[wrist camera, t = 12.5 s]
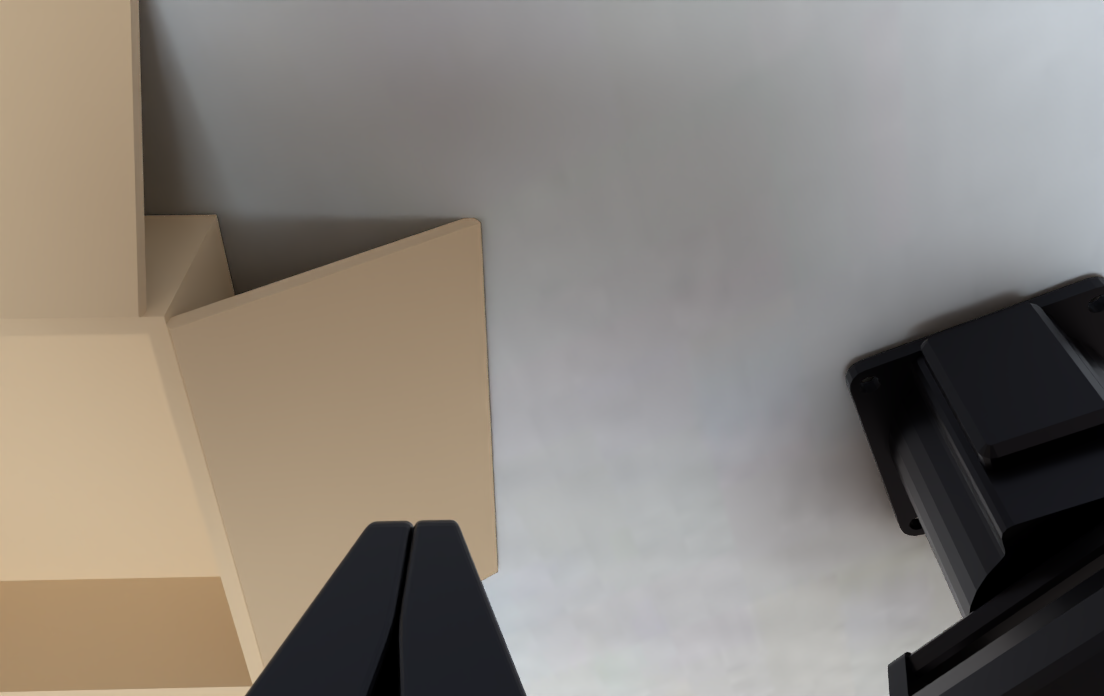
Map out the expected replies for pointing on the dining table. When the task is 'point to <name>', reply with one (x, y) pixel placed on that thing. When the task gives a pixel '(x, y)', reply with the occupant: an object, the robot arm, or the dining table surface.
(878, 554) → the dining table surface
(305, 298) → the carton
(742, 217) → the dining table surface
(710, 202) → the dining table surface
